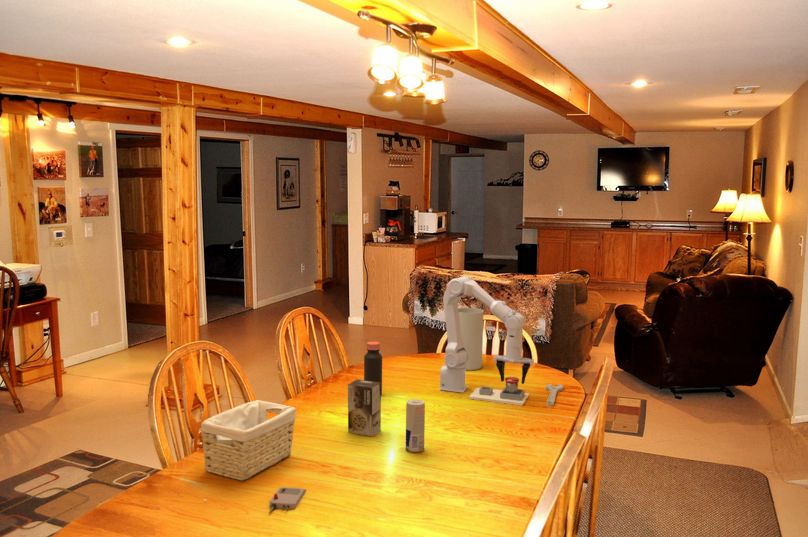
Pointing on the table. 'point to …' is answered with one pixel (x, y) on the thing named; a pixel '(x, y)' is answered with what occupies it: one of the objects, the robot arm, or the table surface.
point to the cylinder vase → (472, 335)
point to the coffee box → (364, 407)
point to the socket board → (499, 396)
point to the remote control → (286, 498)
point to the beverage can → (415, 425)
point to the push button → (512, 385)
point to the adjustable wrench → (553, 393)
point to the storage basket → (247, 439)
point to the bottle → (373, 363)
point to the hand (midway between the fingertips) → (512, 381)
